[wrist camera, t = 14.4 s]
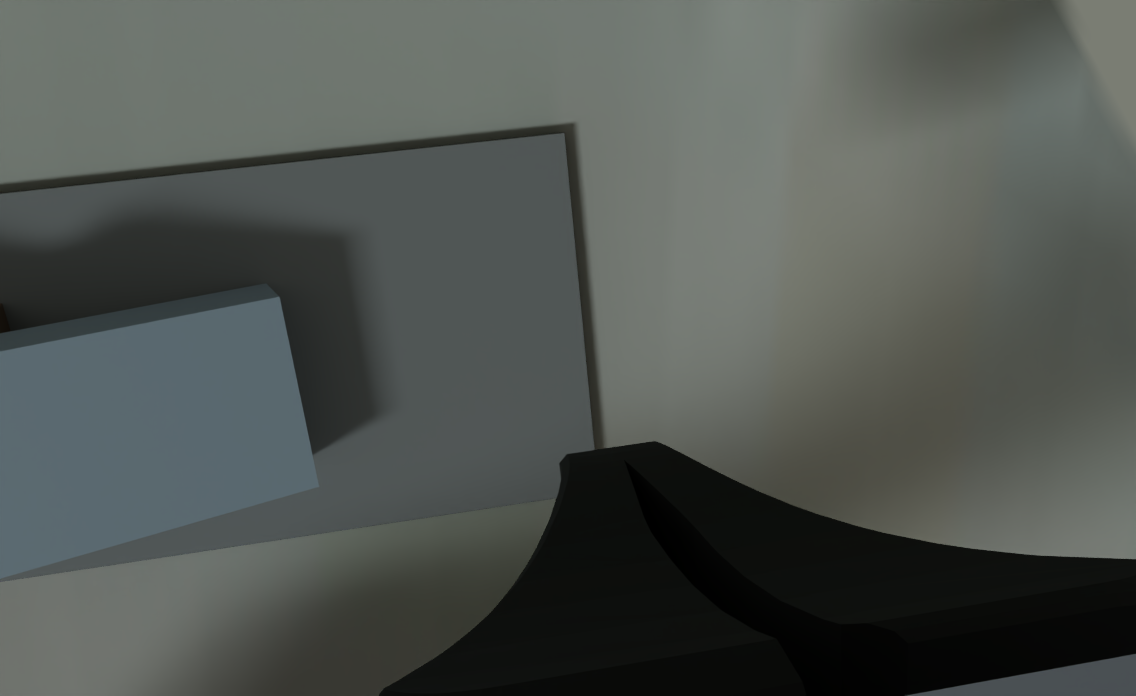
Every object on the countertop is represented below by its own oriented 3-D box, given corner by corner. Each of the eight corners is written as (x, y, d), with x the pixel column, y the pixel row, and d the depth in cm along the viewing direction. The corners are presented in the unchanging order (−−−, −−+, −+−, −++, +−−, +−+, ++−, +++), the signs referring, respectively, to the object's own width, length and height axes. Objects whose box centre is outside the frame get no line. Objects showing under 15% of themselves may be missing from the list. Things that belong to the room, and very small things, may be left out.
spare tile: (279, 296, 18) (-126, 375, 15) (319, 486, 19) (-48, 592, 17) (266, 283, 20) (-105, 353, 17) (303, 460, 21) (-35, 552, 18)
